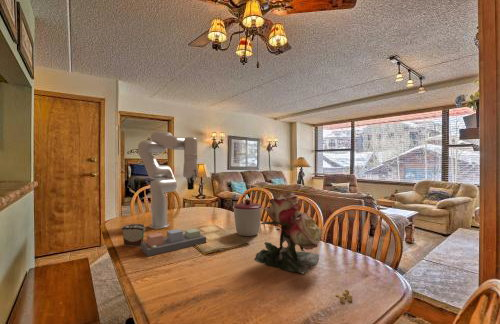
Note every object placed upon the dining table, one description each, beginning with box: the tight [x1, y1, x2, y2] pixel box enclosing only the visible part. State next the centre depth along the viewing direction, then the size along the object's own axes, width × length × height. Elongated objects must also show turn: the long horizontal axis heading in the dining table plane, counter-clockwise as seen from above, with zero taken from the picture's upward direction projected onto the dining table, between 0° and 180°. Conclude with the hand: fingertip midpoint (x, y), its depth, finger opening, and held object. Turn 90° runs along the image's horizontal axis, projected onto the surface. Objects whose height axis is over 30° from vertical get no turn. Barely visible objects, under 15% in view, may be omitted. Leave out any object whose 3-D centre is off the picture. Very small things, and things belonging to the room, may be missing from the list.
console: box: [140, 233, 207, 257], centre depth 125 cm, size 12×30×4 cm, turn 129°
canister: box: [232, 198, 264, 237], centre depth 145 cm, size 18×18×21 cm
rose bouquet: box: [254, 191, 323, 275], centre depth 109 cm, size 26×29×30 cm
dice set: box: [335, 289, 353, 304], centre depth 79 cm, size 5×5×2 cm
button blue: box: [166, 228, 184, 243], centre depth 125 cm, size 6×6×5 cm
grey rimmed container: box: [121, 223, 146, 247], centre depth 127 cm, size 12×6×10 cm, turn 84°
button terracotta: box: [146, 232, 164, 248], centre depth 118 cm, size 6×6×5 cm
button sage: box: [184, 228, 201, 239], centre depth 131 cm, size 6×6×5 cm
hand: (190, 189), depth 142 cm, fingers closed
